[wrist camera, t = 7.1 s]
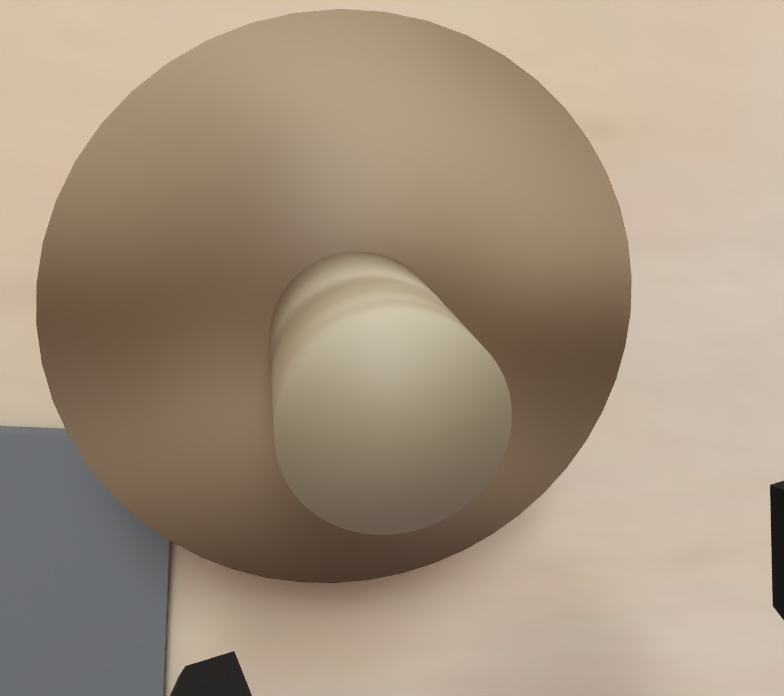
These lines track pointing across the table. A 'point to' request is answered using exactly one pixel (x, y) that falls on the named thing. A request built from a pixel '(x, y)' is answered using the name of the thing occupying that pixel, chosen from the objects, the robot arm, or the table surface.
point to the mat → (75, 578)
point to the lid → (333, 296)
